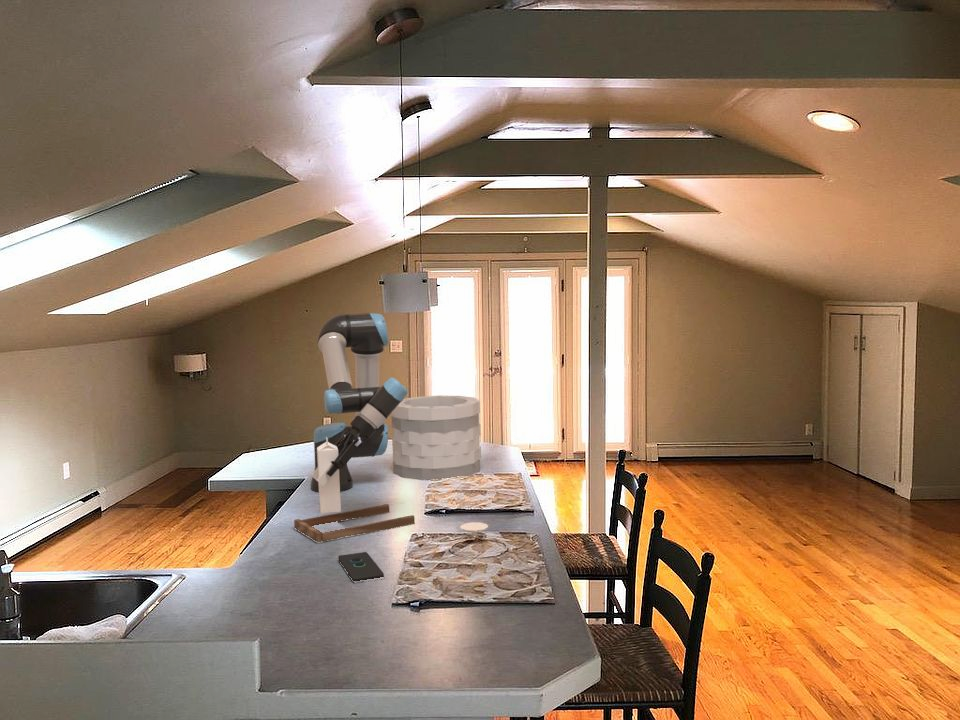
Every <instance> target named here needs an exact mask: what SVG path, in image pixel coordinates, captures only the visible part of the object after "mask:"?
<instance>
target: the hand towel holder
mask: <svg viewBox="0 0 960 720" xmlns="http://www.w3.org/2000/svg"><path fill="white" fill-rule="evenodd" d="M459 527H460V529H461V531H464V532H467V533H471V537H472V536H477V537H478V532H483V531H485V530H486V529H488V527H489V525H488V524H487V523H483V522H472V521H471V522H467V523H463V524H462V525H460V526H459ZM496 538H497V539H499V538H498V537H496Z"/></svg>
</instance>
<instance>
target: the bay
mask: <svg viewBox="0 0 960 720" xmlns="http://www.w3.org/2000/svg"><path fill="white" fill-rule="evenodd" d="M386 513H387V514H388V513H390V504H388V503H386V504H385V503H384V504H379V505H374V506H369V507H363V508H359V509H353V510H348V511H343V512H342V511H341V512H335V513H333V514H332V513H331V514H327V515H321V516H315V517H311V518H310V517H309V518H305V519H299V518H297V519H293V525H294V526H293V527H294V528H296V529H297V530H299V531H300V532H302V533H304V534H305V535H307V536H309V537H310V538H312V539H313V540H315V541H317V542H321V541H327V540H331V539H337V538H340V537H345V536H351V535H357V534H363V533H367V534H371V533H370V532H372V533H376V532H375V531H377V532H381V531H380V530H382V531H387V530H390V529H391V528H392V529H396V527H397V528H401V527H400V526H402V527H406V526H412V525H415V524H416V523H415V519H416V518H415V515H414V514H411V515H407V516H406V515H405V516H401V517H396V518H391V519H386V520H380V521H376V522H371V523H367V524H366V523H365V524H361V525H356V526H352V527H348V528H345V529H340V530H335V531H330V532H325V533H322V532H320V531H319V530H317V529H315V528H314V527H312V526H314V525H319V524H325V523H331V522H336V521H341V520H346V519H352V518H357V519H360V518H359V517H362V518H366V517H365V516H367V517H371V516H376V515H382V514H383V515H384V514H386ZM352 520H353V519H352ZM346 521H347V520H346ZM341 522H342V521H341ZM338 523H340V522H338ZM386 529H387V530H386ZM392 529H391V530H392ZM300 532H299V533H300ZM305 535H304V536H305ZM363 535H364V534H363ZM313 540H312V541H313Z"/></svg>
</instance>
